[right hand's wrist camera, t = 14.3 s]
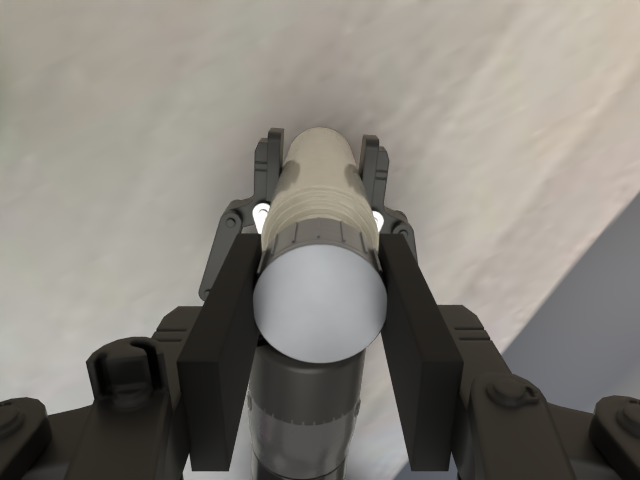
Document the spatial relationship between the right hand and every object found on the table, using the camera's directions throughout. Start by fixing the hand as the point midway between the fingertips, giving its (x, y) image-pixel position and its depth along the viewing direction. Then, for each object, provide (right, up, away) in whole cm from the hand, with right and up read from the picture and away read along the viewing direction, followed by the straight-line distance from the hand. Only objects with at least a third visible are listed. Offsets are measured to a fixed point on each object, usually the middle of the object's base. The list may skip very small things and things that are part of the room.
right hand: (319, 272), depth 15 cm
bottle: (0, +7, +17) cm, 18 cm away
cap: (0, -1, -2) cm, 2 cm away
